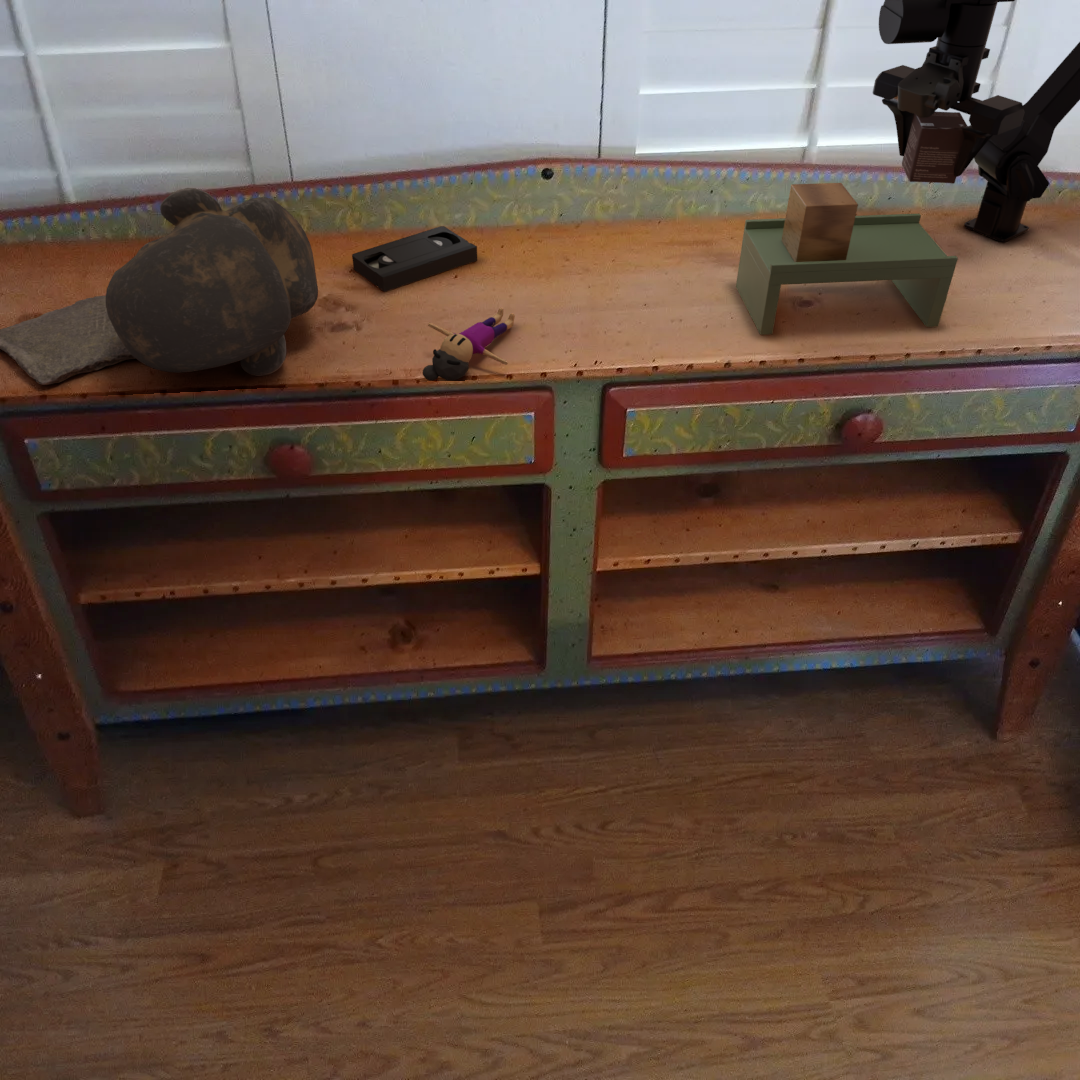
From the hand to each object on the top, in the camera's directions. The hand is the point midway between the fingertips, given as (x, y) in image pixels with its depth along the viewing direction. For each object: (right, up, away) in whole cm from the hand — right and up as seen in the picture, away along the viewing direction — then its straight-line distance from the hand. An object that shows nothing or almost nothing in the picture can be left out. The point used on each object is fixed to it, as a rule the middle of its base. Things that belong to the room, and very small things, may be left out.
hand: (929, 165), depth 141 cm
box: (0, -1, +1) cm, 2 cm away
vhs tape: (-68, -14, -1) cm, 69 cm away
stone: (-99, -23, -14) cm, 103 cm away
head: (-76, -15, -20) cm, 80 cm away
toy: (-56, -24, -13) cm, 62 cm away
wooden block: (-19, -15, -15) cm, 29 cm away
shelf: (-15, -20, -9) cm, 27 cm away
